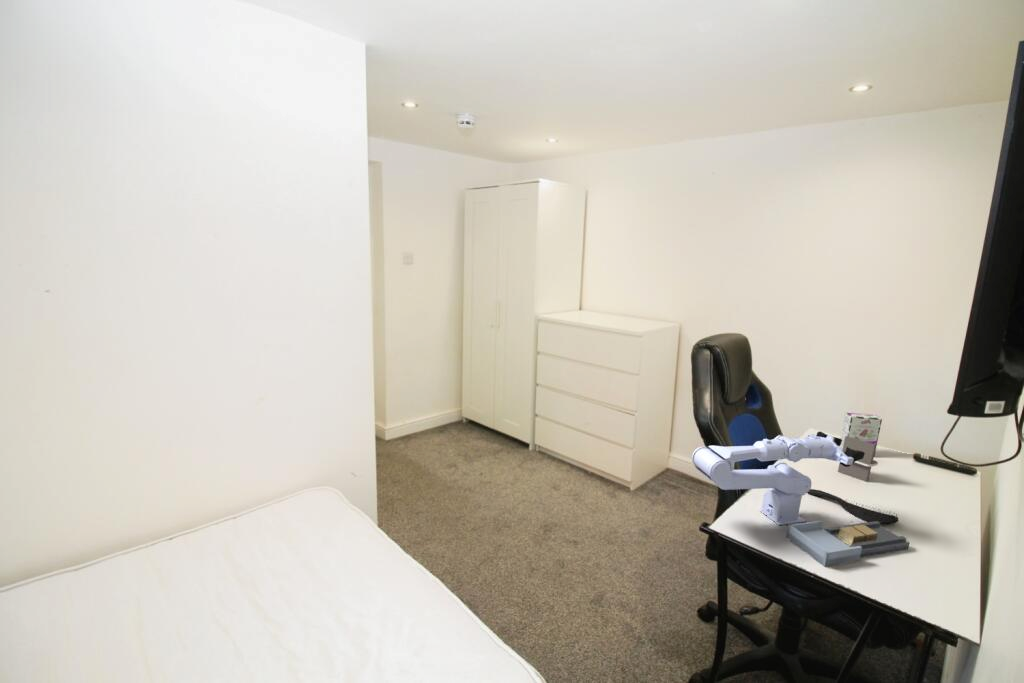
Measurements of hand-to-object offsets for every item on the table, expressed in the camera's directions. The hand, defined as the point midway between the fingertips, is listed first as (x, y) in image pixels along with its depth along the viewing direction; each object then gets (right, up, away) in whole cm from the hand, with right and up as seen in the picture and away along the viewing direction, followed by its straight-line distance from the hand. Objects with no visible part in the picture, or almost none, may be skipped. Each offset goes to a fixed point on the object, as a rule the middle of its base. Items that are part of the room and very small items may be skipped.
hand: (851, 448), depth 138 cm
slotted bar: (-4, -24, -11) cm, 26 cm away
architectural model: (+22, -17, +29) cm, 40 cm away
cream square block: (-5, -22, -11) cm, 25 cm away
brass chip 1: (-9, -22, -12) cm, 27 cm away
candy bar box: (+38, -13, +48) cm, 62 cm away
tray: (-19, -24, -14) cm, 34 cm away
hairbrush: (+4, -21, +7) cm, 22 cm away
